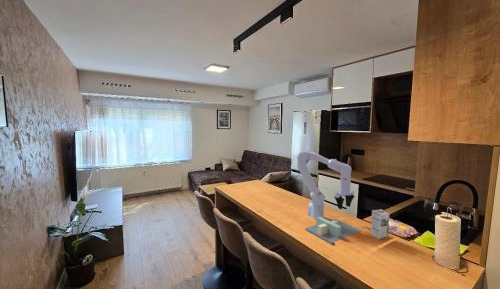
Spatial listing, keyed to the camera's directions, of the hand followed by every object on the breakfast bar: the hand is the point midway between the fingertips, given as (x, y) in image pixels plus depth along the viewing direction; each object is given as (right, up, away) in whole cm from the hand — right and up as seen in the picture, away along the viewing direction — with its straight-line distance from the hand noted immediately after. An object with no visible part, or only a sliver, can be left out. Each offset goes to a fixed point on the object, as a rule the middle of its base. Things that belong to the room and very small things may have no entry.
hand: (344, 207), depth 135 cm
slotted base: (-9, -11, -8) cm, 16 cm away
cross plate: (-13, -10, -11) cm, 20 cm away
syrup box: (+13, -12, -14) cm, 23 cm away
